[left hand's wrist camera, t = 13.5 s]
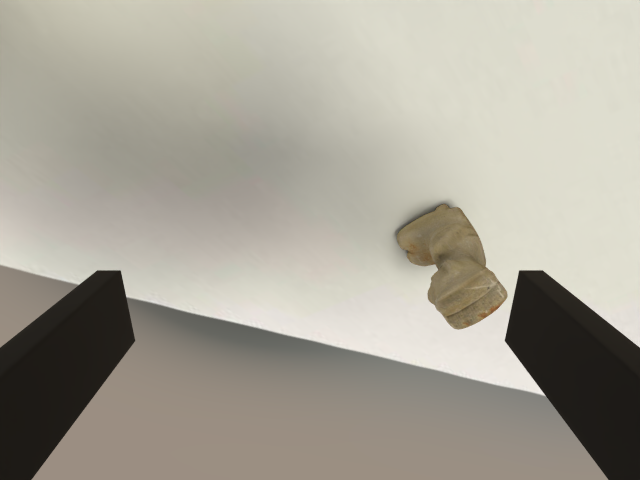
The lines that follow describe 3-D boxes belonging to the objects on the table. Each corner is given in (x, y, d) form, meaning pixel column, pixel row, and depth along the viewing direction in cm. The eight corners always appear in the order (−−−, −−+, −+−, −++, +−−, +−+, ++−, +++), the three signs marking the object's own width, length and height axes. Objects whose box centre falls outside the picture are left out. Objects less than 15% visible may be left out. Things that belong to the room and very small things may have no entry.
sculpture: (386, 226, 42) (420, 293, 28) (445, 189, 40) (511, 240, 26) (413, 266, 44) (457, 347, 30) (470, 232, 42) (545, 301, 28)
